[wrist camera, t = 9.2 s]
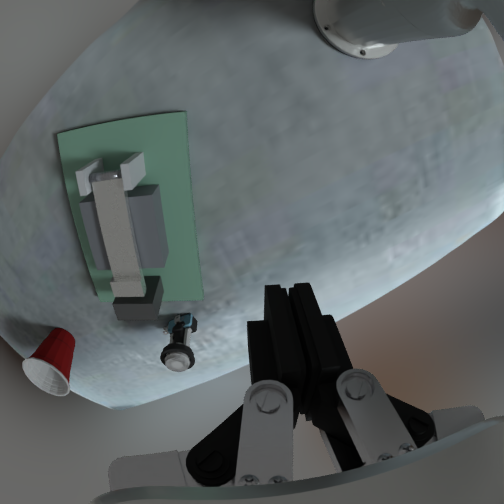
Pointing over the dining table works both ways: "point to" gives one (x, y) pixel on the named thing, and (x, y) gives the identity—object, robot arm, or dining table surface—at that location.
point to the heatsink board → (158, 171)
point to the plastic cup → (52, 363)
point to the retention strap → (118, 234)
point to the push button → (179, 343)
